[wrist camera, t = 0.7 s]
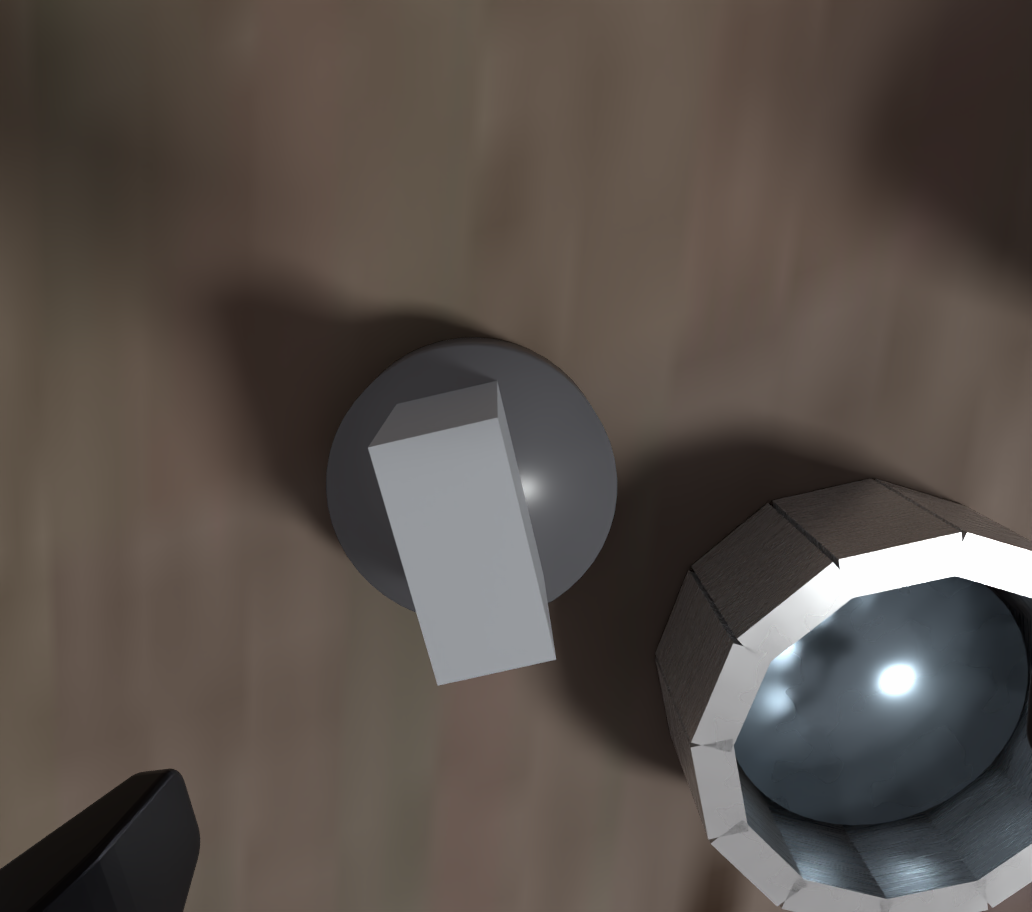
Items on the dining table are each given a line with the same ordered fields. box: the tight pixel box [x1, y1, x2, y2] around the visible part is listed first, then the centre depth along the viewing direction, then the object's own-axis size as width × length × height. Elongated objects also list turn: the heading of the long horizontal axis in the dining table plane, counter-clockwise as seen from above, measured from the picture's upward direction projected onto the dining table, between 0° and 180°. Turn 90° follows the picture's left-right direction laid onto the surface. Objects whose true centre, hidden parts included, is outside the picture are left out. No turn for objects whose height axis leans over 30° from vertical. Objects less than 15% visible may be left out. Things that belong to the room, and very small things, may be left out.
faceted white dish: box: [655, 479, 1032, 912], centre depth 19 cm, size 11×11×4 cm
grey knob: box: [326, 337, 617, 685], centre depth 17 cm, size 7×7×6 cm
